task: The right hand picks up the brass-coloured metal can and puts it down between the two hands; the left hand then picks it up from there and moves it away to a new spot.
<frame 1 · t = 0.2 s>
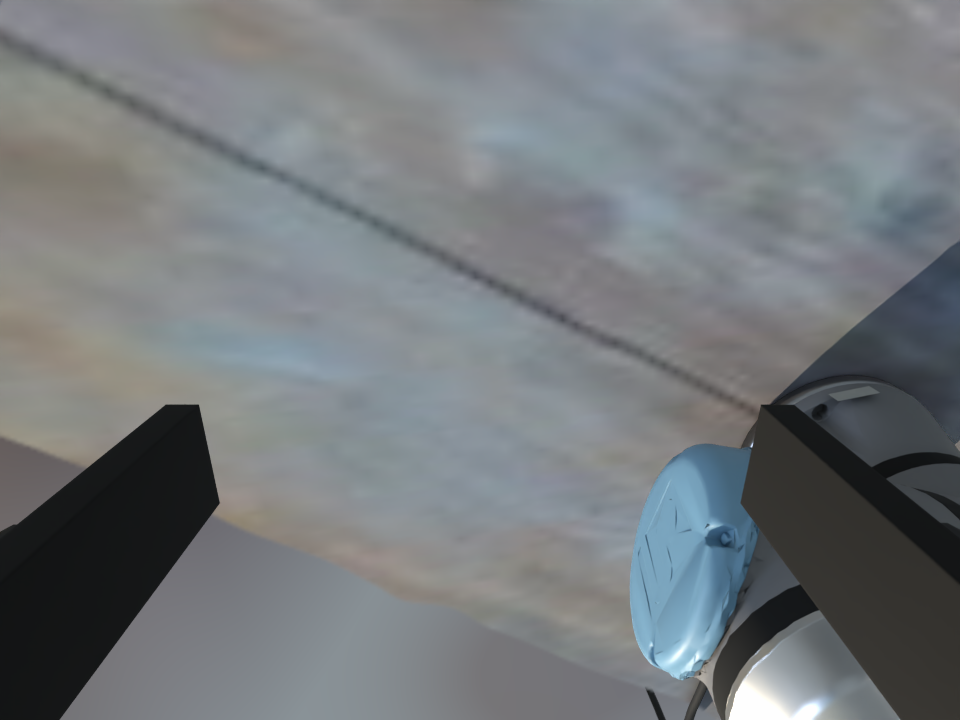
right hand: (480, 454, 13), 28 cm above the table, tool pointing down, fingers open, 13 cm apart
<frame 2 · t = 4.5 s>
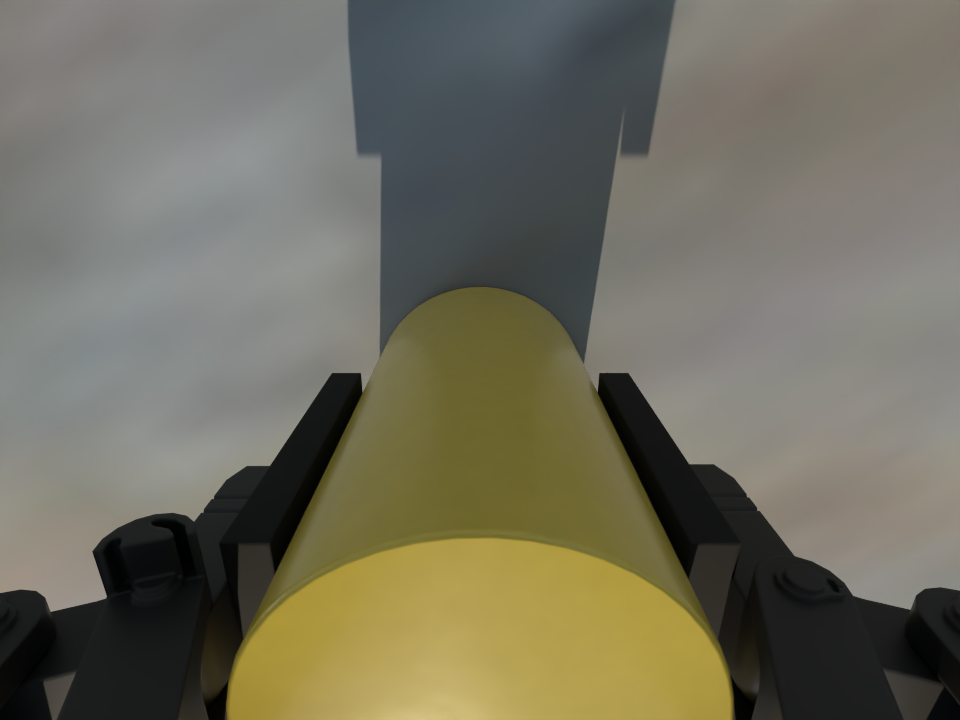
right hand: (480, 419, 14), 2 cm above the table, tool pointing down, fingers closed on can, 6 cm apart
can: (480, 384, 17), on the table, touching right hand
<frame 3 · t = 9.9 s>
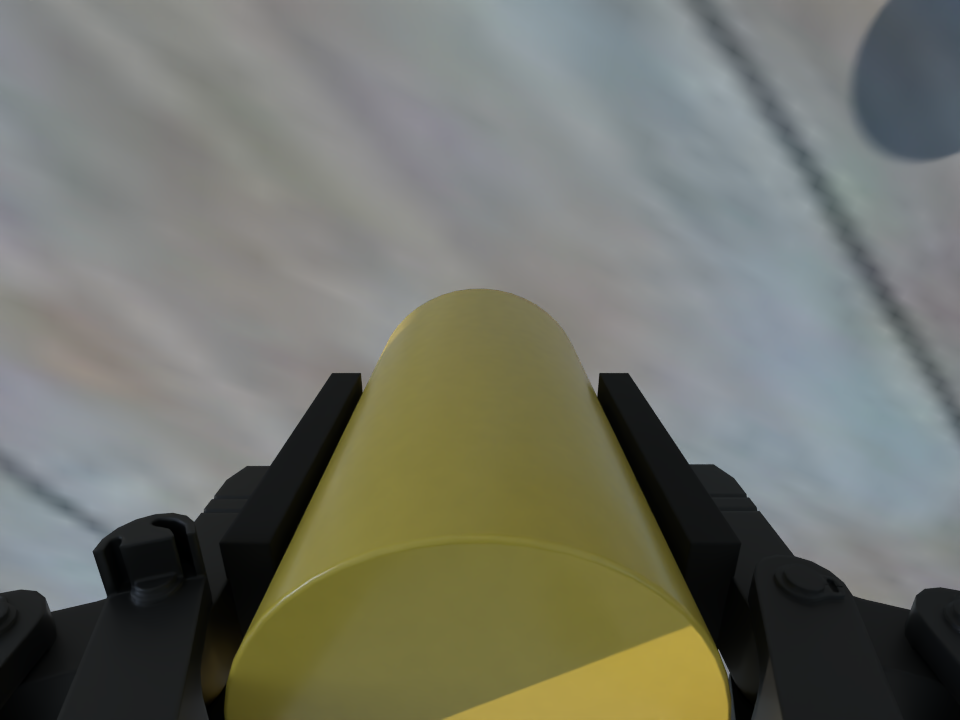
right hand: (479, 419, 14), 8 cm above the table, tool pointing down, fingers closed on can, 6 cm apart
can: (479, 386, 17), point 5 cm above the table, touching right hand
when the right hand's fingers open (4 cm above the table, at t = 15.3 s): can drops 1 cm, on the table.
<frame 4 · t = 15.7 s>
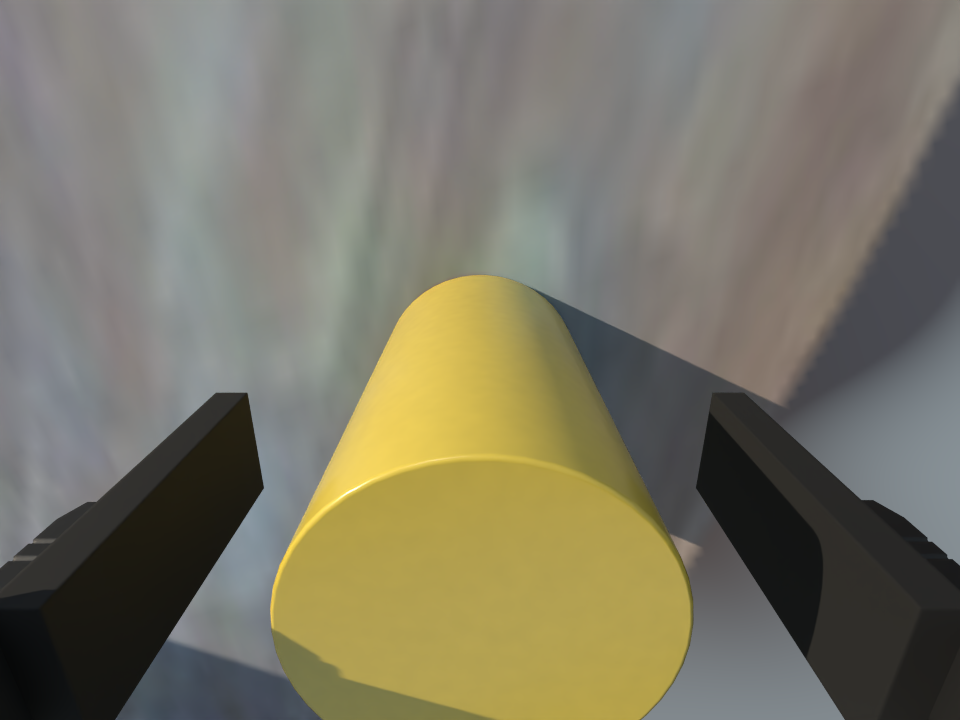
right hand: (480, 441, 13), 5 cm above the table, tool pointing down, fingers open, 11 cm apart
can: (480, 366, 18), on the table
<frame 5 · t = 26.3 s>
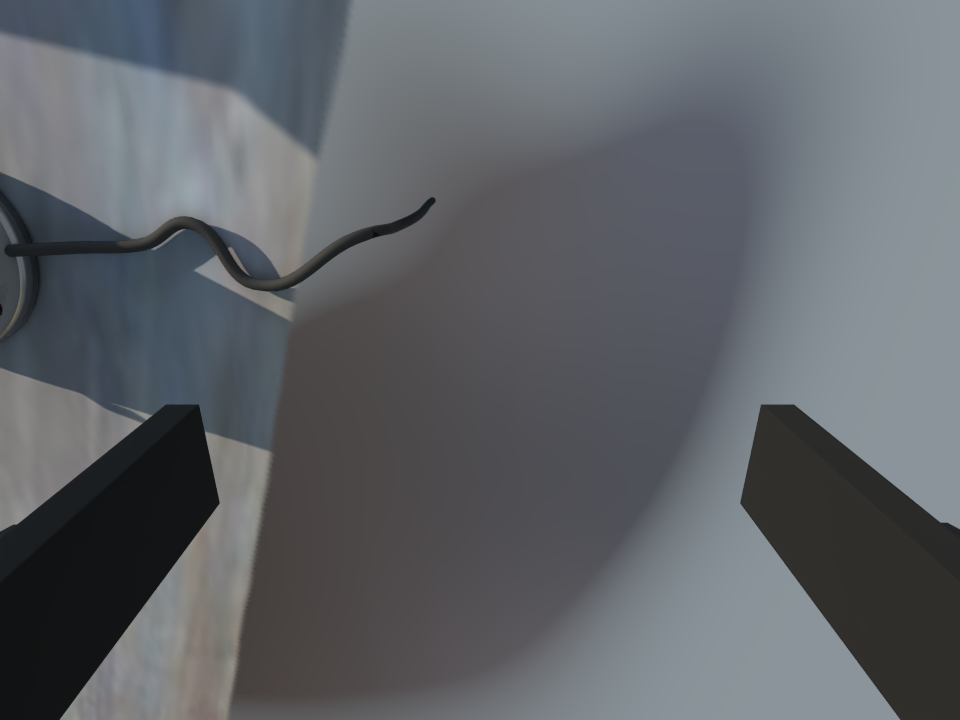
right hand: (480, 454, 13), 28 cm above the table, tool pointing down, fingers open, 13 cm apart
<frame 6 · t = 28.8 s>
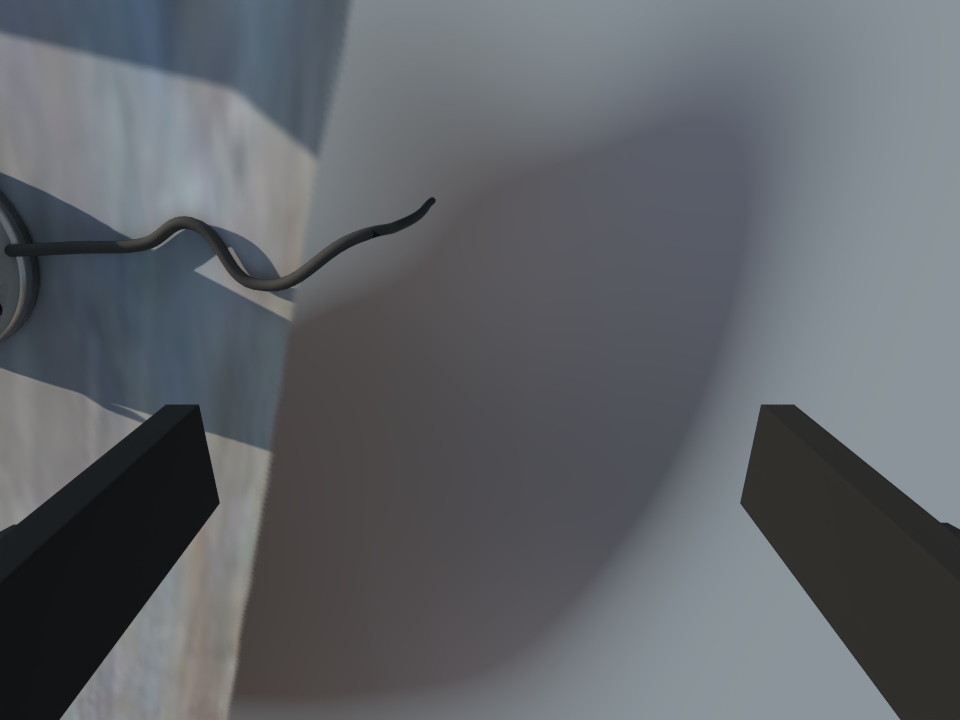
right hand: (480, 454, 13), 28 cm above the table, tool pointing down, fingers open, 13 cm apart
when the left hand's fingers open (4 cm above the table, at t = 31.1 s): can drops 1 cm, on the table.
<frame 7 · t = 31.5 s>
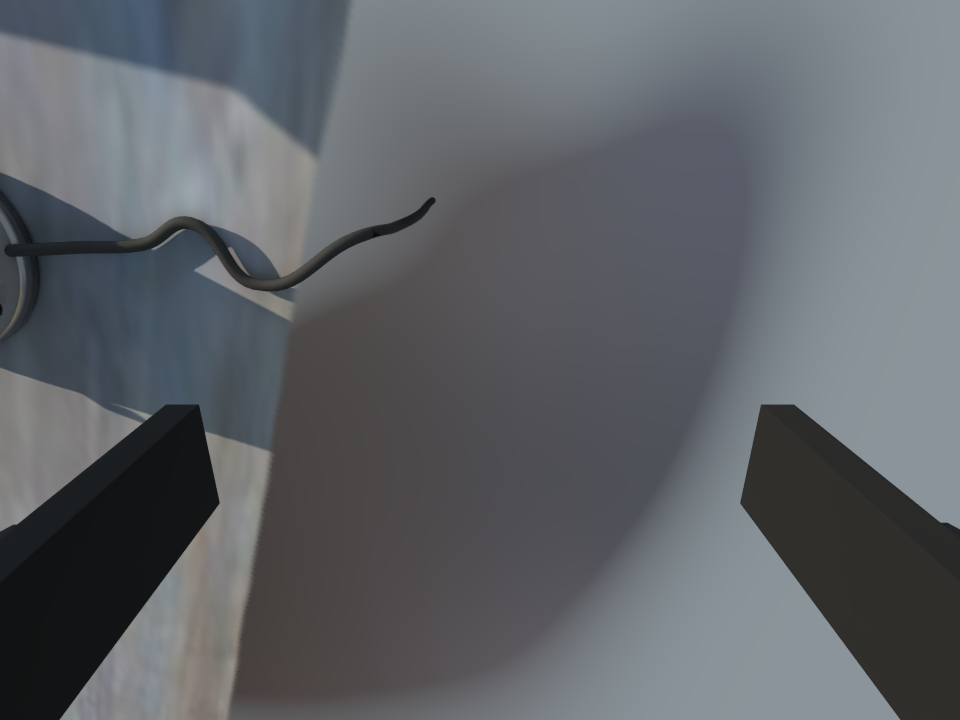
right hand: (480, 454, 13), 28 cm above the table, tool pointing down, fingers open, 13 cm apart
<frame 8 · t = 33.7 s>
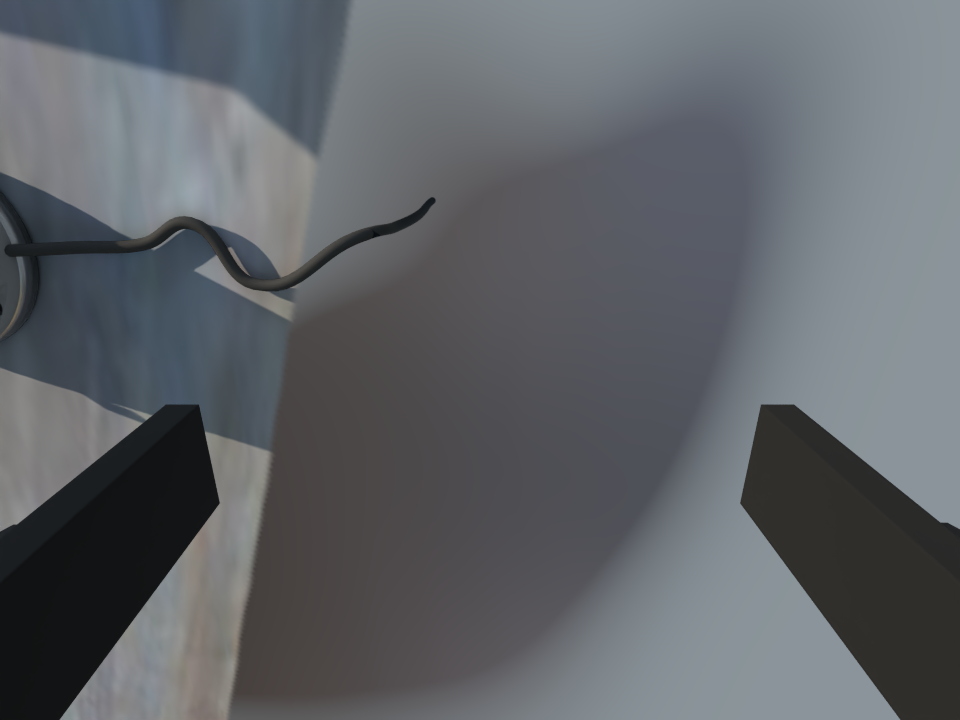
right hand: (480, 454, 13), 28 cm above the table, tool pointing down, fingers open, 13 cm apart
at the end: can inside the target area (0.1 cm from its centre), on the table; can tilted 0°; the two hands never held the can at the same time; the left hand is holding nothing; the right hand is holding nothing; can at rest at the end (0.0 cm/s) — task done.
